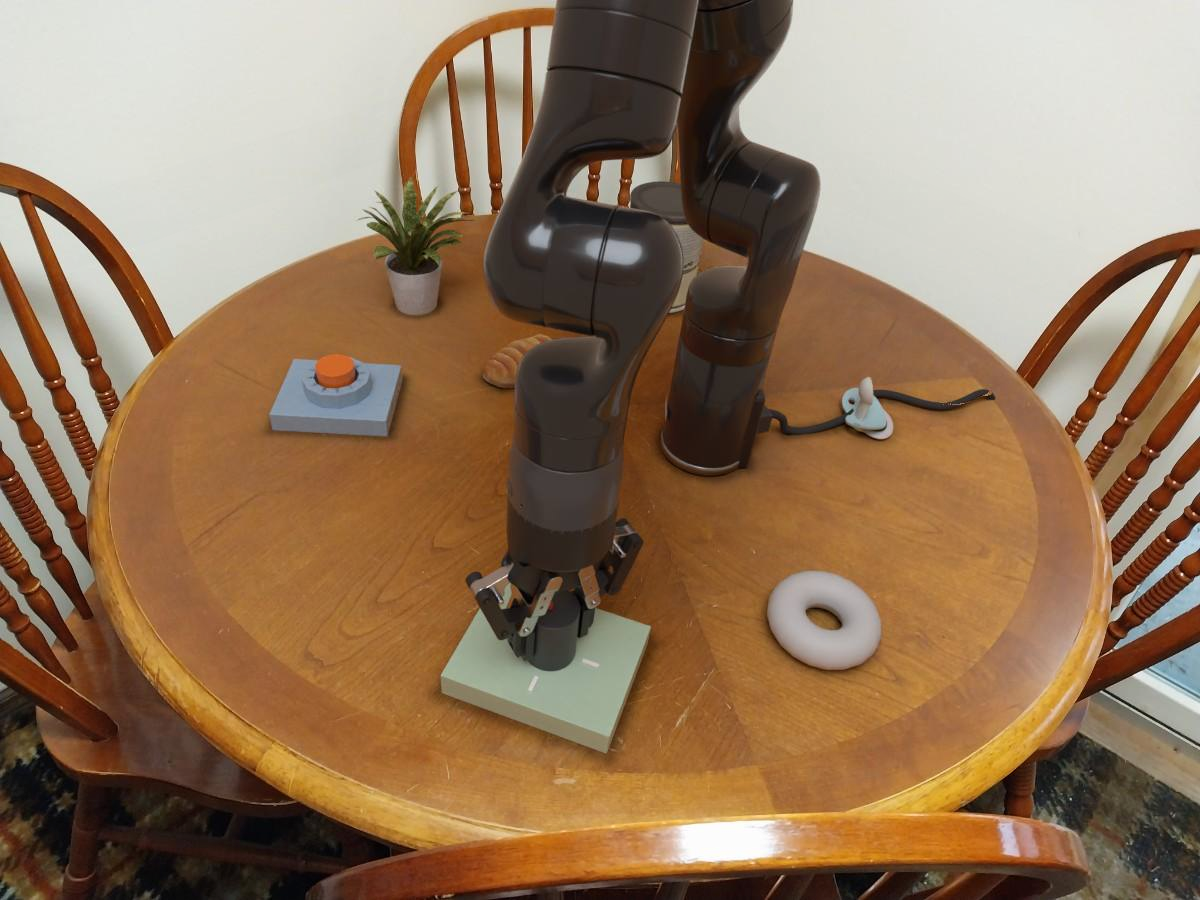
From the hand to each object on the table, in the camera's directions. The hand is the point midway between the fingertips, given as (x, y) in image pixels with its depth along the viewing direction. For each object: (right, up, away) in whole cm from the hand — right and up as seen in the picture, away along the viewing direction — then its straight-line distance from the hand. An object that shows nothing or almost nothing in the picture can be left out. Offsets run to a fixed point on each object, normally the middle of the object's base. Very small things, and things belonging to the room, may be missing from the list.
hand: (550, 639), depth 68 cm
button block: (-25, +20, +26) cm, 41 cm away
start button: (-24, +23, +23) cm, 41 cm away
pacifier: (+35, +18, +31) cm, 50 cm away
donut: (+23, -1, +8) cm, 25 cm away
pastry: (-5, +24, +33) cm, 41 cm away
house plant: (-20, +33, +41) cm, 56 cm away
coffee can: (+12, +37, +49) cm, 62 cm away
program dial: (0, -1, +1) cm, 1 cm away
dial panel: (0, -3, +3) cm, 4 cm away
